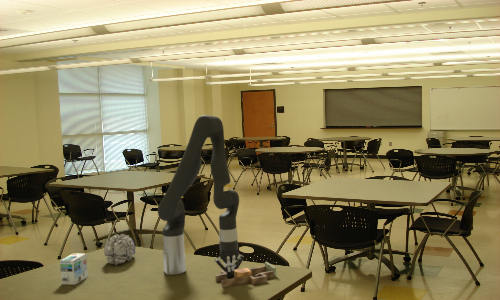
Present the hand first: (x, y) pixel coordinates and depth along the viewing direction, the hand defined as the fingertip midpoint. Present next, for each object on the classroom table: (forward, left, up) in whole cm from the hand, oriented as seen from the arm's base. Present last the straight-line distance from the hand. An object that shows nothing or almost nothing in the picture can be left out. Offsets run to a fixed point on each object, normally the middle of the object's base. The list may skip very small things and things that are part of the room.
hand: (230, 279), depth 194 cm
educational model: (-37, +54, -1) cm, 66 cm away
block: (+5, 0, -1) cm, 5 cm away
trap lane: (+7, 0, -1) cm, 7 cm away
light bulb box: (-59, +37, -1) cm, 70 cm away
